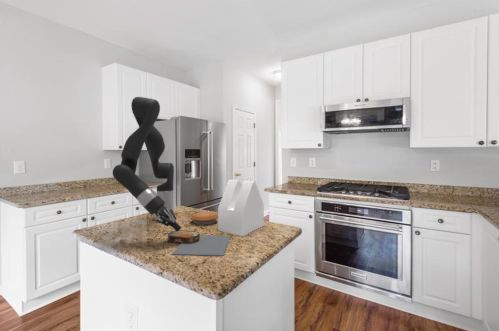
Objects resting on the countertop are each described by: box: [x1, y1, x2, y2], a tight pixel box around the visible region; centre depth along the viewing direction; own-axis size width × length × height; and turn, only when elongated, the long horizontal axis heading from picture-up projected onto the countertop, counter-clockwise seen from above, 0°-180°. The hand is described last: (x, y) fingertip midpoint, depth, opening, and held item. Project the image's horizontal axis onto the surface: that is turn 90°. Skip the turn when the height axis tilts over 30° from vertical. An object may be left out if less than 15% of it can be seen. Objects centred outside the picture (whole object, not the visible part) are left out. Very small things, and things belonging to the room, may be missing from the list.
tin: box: [167, 229, 201, 244], centre depth 109 cm, size 15×3×8 cm
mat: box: [171, 234, 232, 257], centre depth 104 cm, size 20×22×1 cm
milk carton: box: [217, 179, 265, 237], centre depth 126 cm, size 19×15×25 cm
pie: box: [189, 211, 218, 226], centre depth 138 cm, size 15×16×5 cm
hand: (179, 229), depth 104 cm, fingers closed
